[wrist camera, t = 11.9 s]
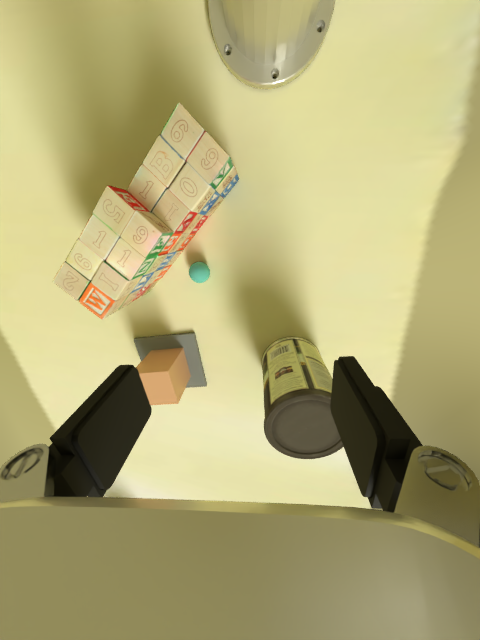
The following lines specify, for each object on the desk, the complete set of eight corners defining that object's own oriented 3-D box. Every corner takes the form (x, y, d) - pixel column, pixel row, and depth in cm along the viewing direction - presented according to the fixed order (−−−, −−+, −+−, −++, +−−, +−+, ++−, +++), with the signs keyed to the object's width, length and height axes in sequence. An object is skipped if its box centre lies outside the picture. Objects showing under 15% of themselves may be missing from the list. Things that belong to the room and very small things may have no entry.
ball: (207, 276, 30) (202, 290, 33) (215, 264, 32) (210, 277, 35) (187, 266, 30) (183, 280, 32) (196, 254, 32) (192, 268, 34)
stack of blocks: (204, 139, 28) (166, 76, 16) (240, 179, 29) (228, 146, 18) (118, 265, 35) (49, 282, 23) (150, 292, 36) (100, 321, 24)
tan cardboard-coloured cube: (151, 350, 39) (130, 374, 33) (183, 347, 39) (168, 371, 32) (160, 378, 41) (142, 405, 35) (190, 375, 41) (178, 403, 34)
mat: (134, 338, 39) (133, 339, 39) (194, 332, 38) (193, 333, 37) (152, 388, 43) (151, 389, 43) (206, 384, 42) (206, 386, 41)
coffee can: (297, 394, 41) (315, 471, 28) (250, 368, 40) (247, 436, 27) (334, 355, 38) (375, 422, 24) (285, 325, 36) (300, 378, 23)
